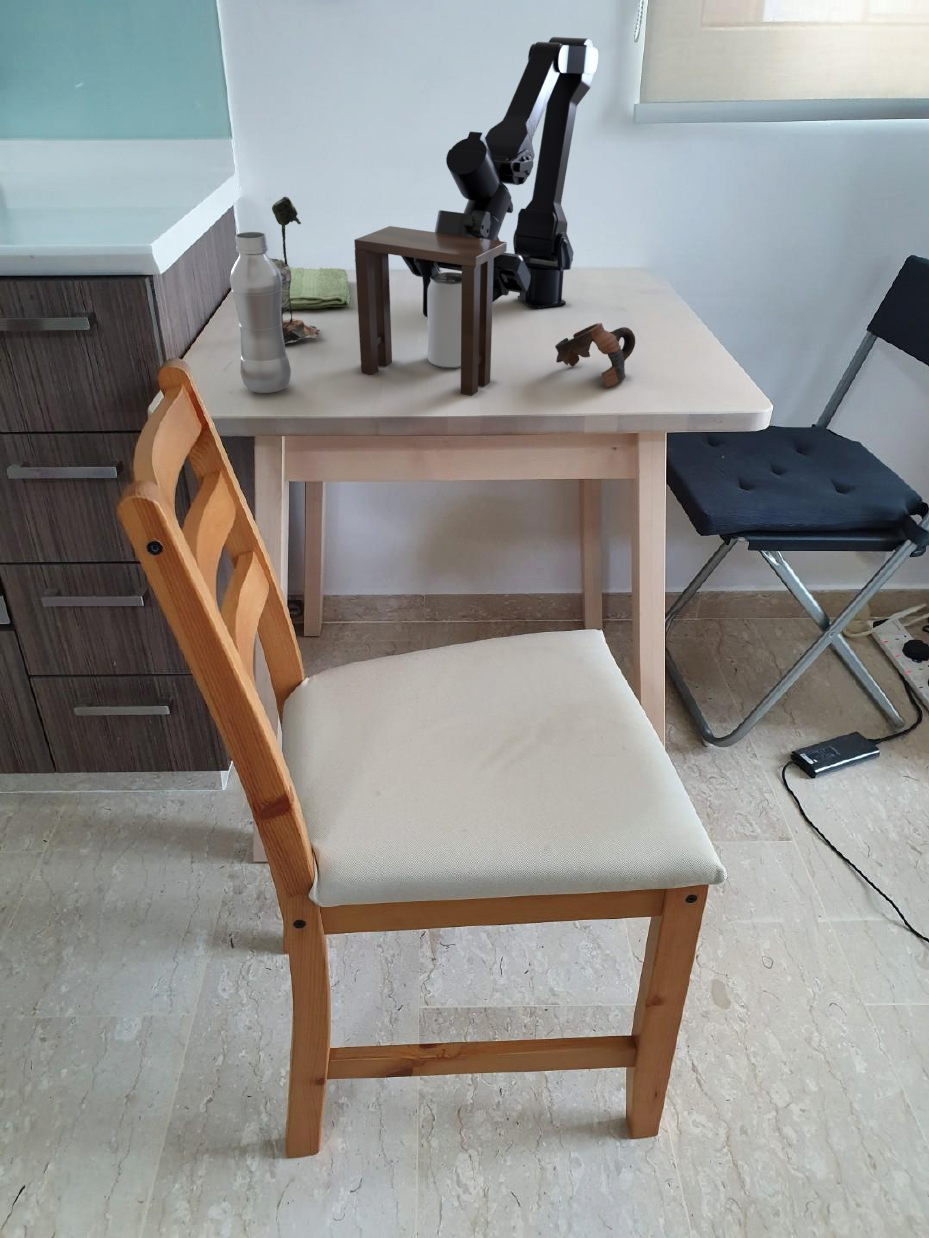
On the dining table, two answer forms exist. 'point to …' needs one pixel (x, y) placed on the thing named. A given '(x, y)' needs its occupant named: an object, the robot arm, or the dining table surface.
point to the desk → (474, 295)
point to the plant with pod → (289, 277)
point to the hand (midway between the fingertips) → (445, 319)
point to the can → (444, 319)
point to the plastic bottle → (259, 315)
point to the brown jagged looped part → (605, 344)
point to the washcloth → (319, 288)
